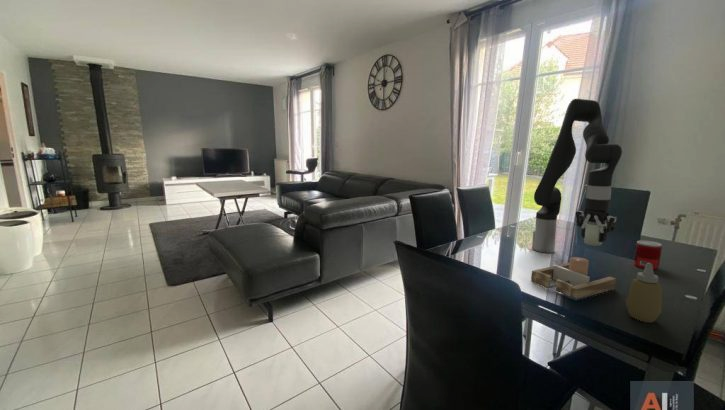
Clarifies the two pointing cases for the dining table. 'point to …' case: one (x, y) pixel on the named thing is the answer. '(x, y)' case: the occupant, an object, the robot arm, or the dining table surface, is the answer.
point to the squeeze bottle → (645, 296)
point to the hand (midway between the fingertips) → (593, 239)
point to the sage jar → (592, 234)
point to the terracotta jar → (579, 265)
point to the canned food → (647, 254)
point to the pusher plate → (568, 276)
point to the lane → (578, 291)
